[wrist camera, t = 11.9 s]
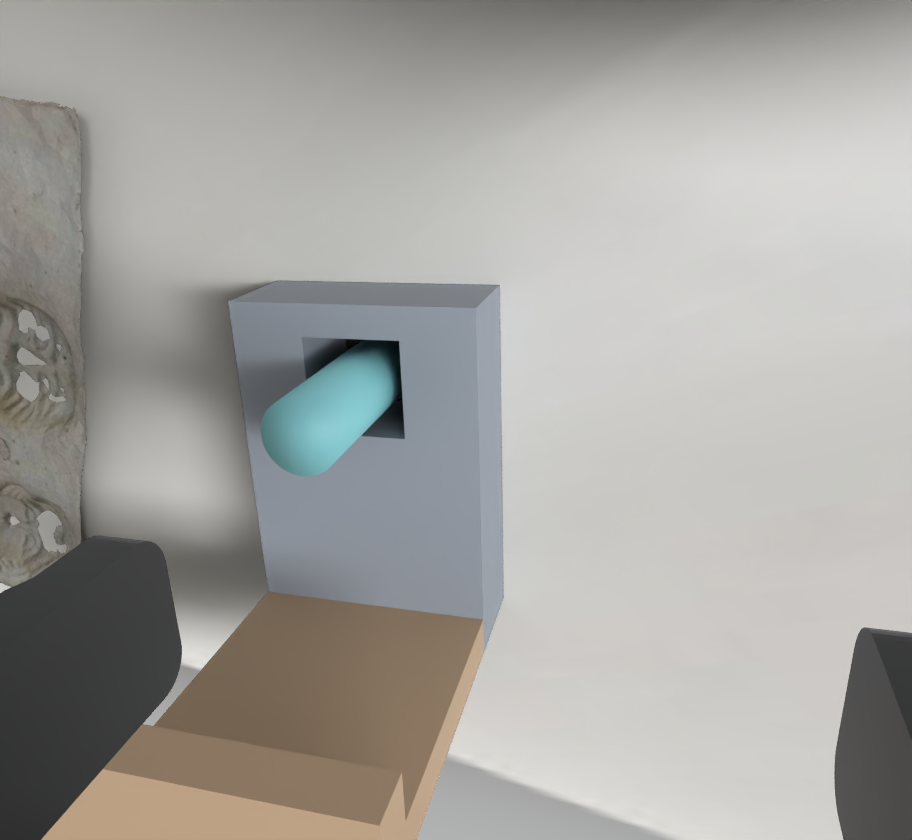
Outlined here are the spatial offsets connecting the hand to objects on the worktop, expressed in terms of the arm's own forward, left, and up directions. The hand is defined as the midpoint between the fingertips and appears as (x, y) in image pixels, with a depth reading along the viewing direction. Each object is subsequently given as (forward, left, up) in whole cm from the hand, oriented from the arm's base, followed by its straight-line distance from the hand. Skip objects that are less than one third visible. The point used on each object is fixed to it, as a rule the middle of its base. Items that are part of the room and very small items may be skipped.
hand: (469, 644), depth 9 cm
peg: (+6, -12, -30) cm, 33 cm away
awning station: (+11, -12, -30) cm, 34 cm away
